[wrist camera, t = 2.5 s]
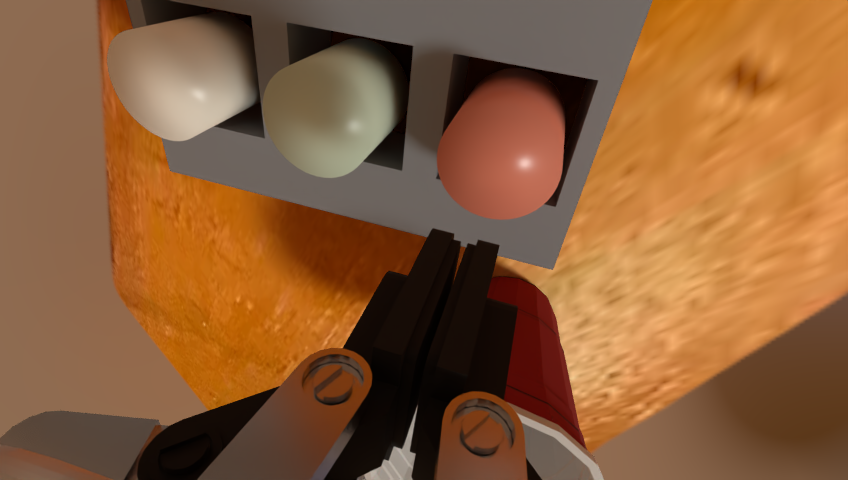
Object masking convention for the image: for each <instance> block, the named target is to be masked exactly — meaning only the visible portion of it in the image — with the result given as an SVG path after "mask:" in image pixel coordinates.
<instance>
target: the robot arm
mask: <svg viewBox="0 0 848 480" xmlns="http://www.w3.org/2000/svg"><path fill="white" fill-rule="evenodd" d="M499 246H500V245H498V244H494V243H490V242H486V241H482V240H478V241H477V244H476V245H474V244H470V243H468V244H467V247H466V249H465V252H464V255H463V258H462V261H461V263H460V266H459V269H458V272H457V275H456V277H455V280H454V276H455V272H456V267H457V262H458V257H459V252H460V247H461V241H458V240H454V233H450V232H446V231H443V230H439V229H435V228H432V230H431V231H430V233H429V235H428V237H427V239H426V241H425V243H424V245H423V247H422V249H421V251H420V253H419V255H418V257H417V259H416V261H415V263H414V265H413V267H412V269H411V271H410V273H409V275H408V276H407V275H403V274H399V273H396V272H392V271H388V272H387V273H386V274H385V276H384V277H383V279H382V281H381V283H380V284H379V286H378V288H377V290H376V291H375V293H374V295H373V297H372V298H371V300H370V302H369V304H368V305H367V307H366V309H365V310H364V312H363V314H362V316H361V317H360V319H359V321H358V323H357V324H356V326H355V328H354V330H353V331H352V333H351V335H350V337H349V338H348V340H347V342H346V344H345V345H344V347H343V348H329V349H324V350H320V351H318V352H316V353H314V354H311V355H309V356H308V357H307V358H306V359H305V360H304V361H302V362H301V363H300V364H299V365H298V367H297V368H296V369H295V370H294V371H293V372H292V373H291V374H290V376H289V377H288V378H287V379H286V380H285V381H284V382H283V383H282V385H281V386H279V387H276V388H273V389H270V390H267V391H264V392H261V393H258V394H256V395H253V396H250V397H247V398H244V399H241V400H238V401H235V402H232V403H230V404H227V405H224V406H221V407H218V408H215V409H212V410H209V411H206V412H204V413H201V414H198V415H195V416H192V417H189V418H186V419H183V420H181V421H179V422H177V423H175V424H173V425H170V426H164V425H160V423H159V420H153V419H143V418H132V417H122V416H111V415H101V414H90V413H79V412H69V411H50V412H44V413H40V414H38V415H35V416H31V417H29V418H27V419H25V420H23V421H22V422H20V423H18V424H17V425H15V426H13V427H12V428H11V429H10V430H9V431H7V432H6V433H5V434H4V435H3V436H2V437H1V438H0V480H363V478H364V475H365V474H366V473H368V472H370V471H373V470H375V469H377V468H379V467H381V466H382V463H383V461H384V460H387V461H389V459H390V456H391V453H392V450H393V448H394V447H397V448H400V449H402V448H403V446H404V444H405V441H406V438H407V435H408V432H409V429H410V426H411V423H412V420H413V417H414V414H415V411H416V408H417V412H416V418H415V423H414V429H413V435H412V440H411V446H410V452H412V453H415V454H416V455H415V460H414V465H413V470H412V475H411V477H412V479H413V480H542V479H541V477H540V476H539V475H538V473H537V472H536V470H535V469H534V468H533V466H532V465H531V464H530V462H529V461H528V459H527V458H526V450H525V435H524V430H523V426H522V422H521V420H520V418H519V417H518V415H517V413H516V411H515V410H514V409H513V408H512V407H511V406H510V405H509V404H508V403H507V402H505V401H504V397H505V391H506V384H507V377H508V371H509V364H510V358H511V351H512V345H513V338H514V332H515V325H516V319H517V312H518V306H516V305H513V304H509V303H505V302H502V301H498V300H494V299H491V298H487V295H488V291H489V287H490V283H491V279H492V275H493V271H494V267H495V262H496V258H497V254H498V250H499ZM453 281H454V283H453Z"/></svg>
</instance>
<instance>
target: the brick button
mask: <svg viewBox="0 0 848 480" xmlns="http://www.w3.org/2000/svg"><path fill="white" fill-rule="evenodd" d="M565 123H566V111H565V106H564V102H563V99H562V97H561V95H560V93H559V91H558V90H557V88H556V87H555V86H554V85H553V84H552V82H551V81H549V80H548V79H547V78H546V77H544V76H543V75H541V74H539V73H537V72H535V71H532V70H528V69H523V68H508V69H503V70H499V71H497V72H494V73H492V74H490V75H488V76H487V77H485V78H484V79H483V80H482V81H480V82H479V83H478V84H477V85H476V86H475V88H474V89H473V90H472V92H471V93H470V95H469V96H468V98H467V99H466V101H465V102H464V104H463V105H462V107H461V108H460V110H459V111H458V113H457V114H456V116H455V117H454V119H453V120H452V121H451V123H450V124H449V126H448V127H447V129H446V130H445V132H444V134H443V136H442V138H441V140H440V143H439V146H438V151H437V168H438V173H439V176H440V179H441V182H442V184H443V186H444V188H445V189H446V191H447V192H448V194H449V195H450V196H451V197H452V199H453V200H454V201H456V202H457V203H458V204H459V205H460V206H462V207H463V208H464V209H466V210H468V211H469V212H471V213H473V214H476V215H478V216H481V217H485V218H490V219H498V220H505V219H514V218H518V217H522V216H525V215H527V214H530V213H532V212H533V211H535V210H537V209H538V208H540V207H541V206H542V205H544V204H545V203H546V202H547V201H548V200H549V198H550V197H551V196H552V195H553V193H554V192H555V190H556V188H557V186H558V184H559V181H560V178H561V174H562V167H563V153H564V138H565Z"/></svg>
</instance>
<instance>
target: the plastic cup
mask: <svg viewBox="0 0 848 480" xmlns="http://www.w3.org/2000/svg"><path fill="white" fill-rule="evenodd" d="M487 298H491V299H494V300H498V301H502V302H505V303H509V304H513V305H516V306H518V312H517V319H516V325H515V332H514V338H513V345H512V351H511V358H510V364H509V371H508V377H507V384H506V391H505V397H504V401H505V402H507V403H508V404H509V405H510V406H511V407H512V408H513V409H514V410H515V411H516V413H517V415H518V417H519V418H520V420H521V422H522V426H523V430H524V435H525V450H526V458H527V459H528V461H529V462H530V464H531V465H532V466H533V468H534V469H535V470H536V472H537V473H538V475H539V476H540V477H541V479H542V480H604V479H603V476H602V474H601V472H600V469H599V467H598V465H597V462H596V460H595V458H594V456H593V455H592V454H591V453H590V452H588V451H587V449H586V446H585V442H584V438H583V435H582V433H581V430H580V428H579V424H578V419H577V414H576V409H575V404H574V399H573V395H572V390H571V385H570V380H569V375H568V370H567V365H566V360H565V355H564V351H563V349H562V346H561V344H560V338H559V332H558V326H557V320H556V317H555V314H554V312H553V310H552V307H551V305H550V302H549V300H548V298H547V297H546V296H545V295H544V294H543V293H542V292H541V291H540V290H539V289H538V288H537V287H536V286H534V285H532V284H529V283H527V282H525V281H523V280H521V279H518V278H510V277H502V276H499V277H494V278H492V279H491V283H490V287H489V291H488V295H487ZM416 412H417V408H416V411H415V414H414V417H413V420H412V423H411V426H410V429H409V432H408V435H407V438H406V441H405V444H404V446H403V448H402V449H400V448H397V447H394V448H393V450H392V453H391V456H390V459H389V461H387V460H384V461H383V463H382V466H381V467H379V468H377V469H375V470H373V471H370V472H368V473H366V474H365V475H364V477H365V479H366V480H413V479H412V477H411V475H412V470H413V465H414V460H415V455H416V454H415V453H412V452H410V446H411V440H412V435H413V429H414V423H415V418H416Z"/></svg>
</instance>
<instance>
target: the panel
mask: <svg viewBox="0 0 848 480" xmlns="http://www.w3.org/2000/svg"><path fill="white" fill-rule="evenodd" d="M126 3H127V7H128V11H129V15H130V19H131V22H132V26H133V29H135V28H139V27H144V26H149V25H153V24H158V23H163V22H168V21H172V20H177V19H182V18H186V17H191V16H196V15H200V14H205V13H206V8H205V7H207V8H212V9H218V10H223V11H229V12H234V13H239V14H245V15H250V16H251V19H252V27H253V36H254V45H255V54H256V63H257V72H258V81H259V90H260V98H261V102H259V103H257V104H255V105H253V106H251V107H249V108H248V109H246V110H244V111H242V112H240V113H238V114H236V115H234V116H232V117H230V118H229V119H227V120H225V121H223V122H221V123H219V124H217V125H215V126H213V127H212V128H210V129H208V130H206V131H204V132H202V133H200V134H198V135H196V136H194V137H193V138H191V139H188V140H185V141H172V140H167V139H164V138H162V141H163V145H164V149H165V153H166V157H167V161H168V164H169V168H170V171H172V172H176V173H180V174H184V175H188V176H192V177H196V178H199V179H203V180H207V181H211V182H215V183H219V184H223V185H227V186H230V187H234V188H238V189H242V190H246V191H250V192H254V193H258V194H261V195H265V196H269V197H273V198H277V199H281V200H285V201H288V202H292V203H296V204H300V205H304V206H308V207H312V208H316V209H319V210H323V211H327V212H331V213H335V214H339V215H343V216H347V217H350V218H354V219H358V220H362V221H366V222H370V223H374V224H377V225H381V226H385V227H389V228H393V229H397V230H401V231H405V232H408V233H412V234H416V235H420V236H424V237H428V235H429V233H430V231H431V230H432V228H435V229H439V230H443V231H446V232H450V233H454V240H458V241H461V246H463V247H467V244H468V243H470V244H474V245H476V244H477V241H478V240H482V241H486V242H490V243H494V244H498V245H500V246H499V250H498V254H497V256H501V257H505V258H509V259H513V260H517V261H521V262H525V263H528V264H532V265H536V266H540V267H544V268H548V269H552V270H553V268H554V265H555V263H556V260H557V257H558V255H559V252H560V249H561V247H562V244H563V241H564V238H565V236H566V233H567V230H568V228H569V225H570V222H571V219H572V217H573V214H574V211H575V209H576V206H577V203H578V201H579V198H580V195H581V192H582V190H583V187H584V184H585V182H586V179H587V176H588V174H589V171H590V168H591V165H592V163H593V160H594V157H595V155H596V152H597V149H598V146H599V144H600V141H601V138H602V136H603V133H604V130H605V128H606V125H607V122H608V119H609V117H610V114H611V111H612V109H613V106H614V103H615V100H616V98H617V95H618V92H619V90H620V87H621V84H622V82H623V79H624V76H625V73H626V71H627V68H628V65H629V63H630V60H631V57H632V55H633V52H634V49H635V46H636V44H637V41H638V38H639V36H640V33H641V30H642V27H643V25H644V22H645V19H646V17H647V14H648V11H649V9H650V6H651V3H652V0H126ZM331 31H336V32H341V33H347V34H352V35H357V36H363V37H368V38H373V39H379V40H384V41H390V42H395V43H400V44H406V45H411V46H413V55H412V67H411V78H410V89H409V100H408V112H407V123H406V134H402V133H397V132H393V131H391V132H390V133H389V134H388V135H387V136H386V137H385V138H384V140H383V141H382V142H381V143H380V144H379V145H378V146H377V147H376V148H375V149H374V150H373V151H372V152H371V153H370V154H369V155H368V156H367V158H366V159H365V160H364V161H363V162H362V163H361V164H360V165H359V166H358V167H357V168H356V169H355V170H353V171H352V172H350V173H348V174H346V175H344V176H341V177H336V178H323V177H318V176H314V175H311V174H309V173H306V172H304V171H302V170H301V169H299V168H297V167H296V166H294V165H293V164H292V163H291V162H289V161H288V160H287V159H286V158H285V157H284V156H283V155H282V154H281V153H280V151H279V150H278V149H277V147H276V146H275V144H274V143H273V141H272V139H271V137H270V136H269V133H268V131H267V128H266V125H265V122H264V116H263V97H264V92H265V90H266V87H267V85H268V83H269V81H270V80H271V78H272V77H273V76H274V75H275V74H276V73H277V72H278V71H280V70H281V69H283V68H285V67H287V66H289V65H291V64H294V63H296V62H298V61H300V60H302V59H305V58H307V57H309V56H311V55H313V54H316V53H318V52H320V51H322V50H324V49H327V48H329V47H331ZM469 57H475V58H481V59H486V60H492V61H497V62H502V63H508V64H513V65H518V66H524V67H529V68H534V69H540V70H545V71H551V72H556V73H561V74H567V75H572V76H577V77H583V78H588V80H587V83H586V86H585V89H584V92H583V95H582V98H581V101H580V104H579V107H578V111H577V114H576V117H575V120H574V123H573V126H572V129H571V132H570V135H569V138H568V142H567V145H566V148H565V151H564V154H563V167H562V174H561V178H560V181H559V184H558V186H557V188H556V190H555V192H554V193H553V195H552V196H551V197H550V198H549V200H548V201H547V202H546V203H545V204H544V205H542V206H541V207H540V208H538V209H537V210H535V211H533V212H532V213H530V214H527V215H525V216H522V217H518V218H514V219H505V220H498V219H490V218H485V217H481V216H478V215H476V214H473V213H471V212H469V211H468V210H466V209H464V208H463V207H462V206H460V205H459V204H458V203H457V202H456V201H454V200H453V199H452V197H451V196H450V195H449V194H448V192H447V191H446V189H445V188H444V186H443V184H442V182H441V179H440V176H439V173H438V168H437V151H438V146H439V143H440V140H441V138H442V136H443V134H444V132H445V130H446V129H447V127H448V126H449V124H450V123H451V121H452V120H453V119H454V117H455V116H456V114H457V113H458V111H459V110H460V108H461V107H462V101H463V94H464V88H465V82H466V76H467V70H468V63H469Z"/></svg>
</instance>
